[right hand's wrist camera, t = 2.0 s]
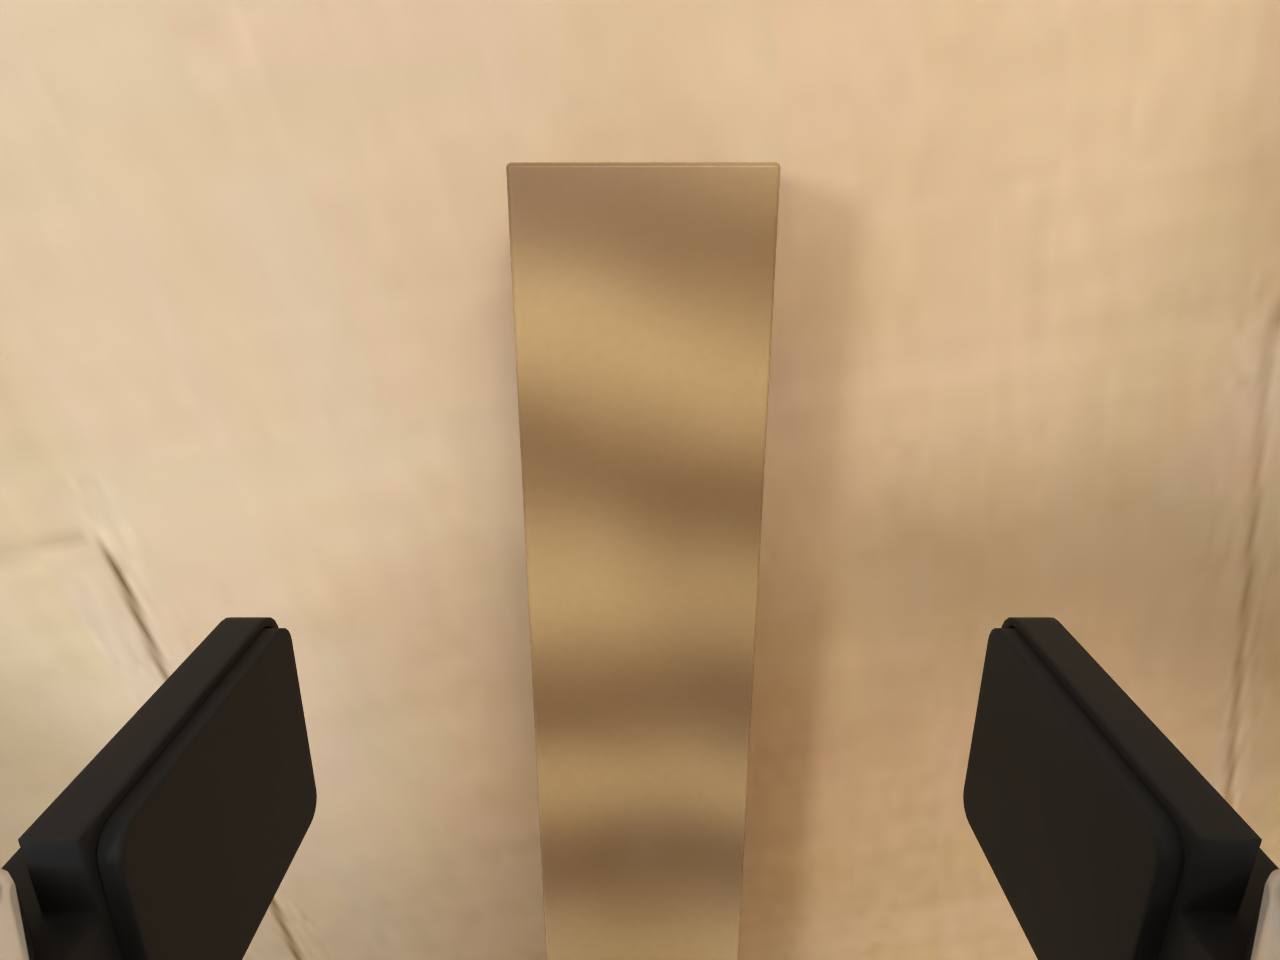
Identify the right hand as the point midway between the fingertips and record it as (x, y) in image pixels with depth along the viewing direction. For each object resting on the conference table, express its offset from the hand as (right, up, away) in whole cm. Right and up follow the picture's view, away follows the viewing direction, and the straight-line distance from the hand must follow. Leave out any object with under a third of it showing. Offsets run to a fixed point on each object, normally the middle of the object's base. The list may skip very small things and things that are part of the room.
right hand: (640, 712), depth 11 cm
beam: (0, -12, +21) cm, 24 cm away
